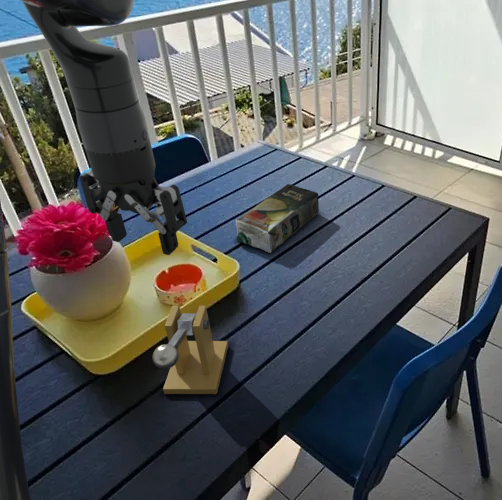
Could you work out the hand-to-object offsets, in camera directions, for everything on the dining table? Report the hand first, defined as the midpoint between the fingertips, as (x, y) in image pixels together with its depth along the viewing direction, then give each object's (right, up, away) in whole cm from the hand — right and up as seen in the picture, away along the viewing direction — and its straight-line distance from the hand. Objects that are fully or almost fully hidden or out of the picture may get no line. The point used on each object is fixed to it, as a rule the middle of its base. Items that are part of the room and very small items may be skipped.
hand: (145, 245), depth 71 cm
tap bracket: (+5, -20, +10) cm, 23 cm away
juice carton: (+13, +4, +43) cm, 46 cm away
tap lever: (+5, -15, -1) cm, 16 cm away
